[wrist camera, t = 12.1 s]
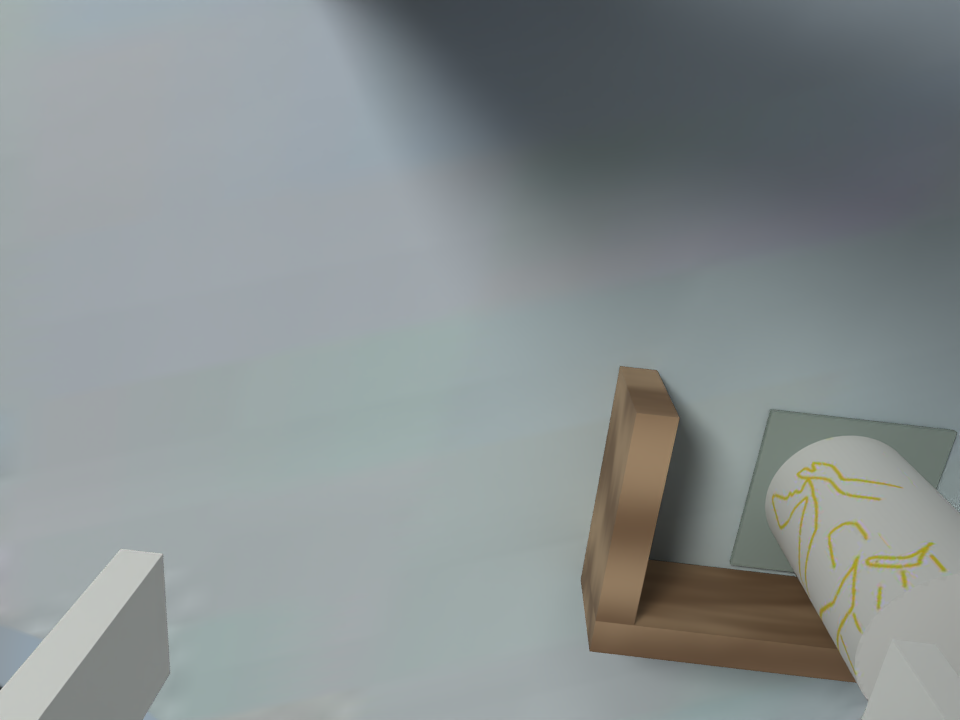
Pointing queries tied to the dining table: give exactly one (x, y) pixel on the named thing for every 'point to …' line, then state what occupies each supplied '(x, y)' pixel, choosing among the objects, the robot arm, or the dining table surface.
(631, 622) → the brown wooden l-shaped wall
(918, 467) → the pad
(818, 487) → the cup
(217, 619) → the dining table surface
